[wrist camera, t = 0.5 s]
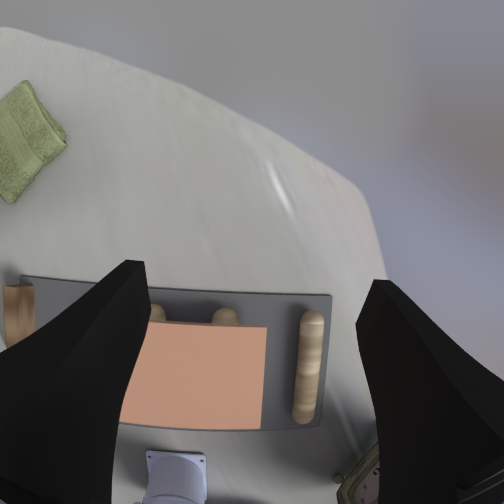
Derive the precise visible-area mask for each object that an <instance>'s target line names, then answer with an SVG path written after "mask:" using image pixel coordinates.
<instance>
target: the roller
mask: <svg viewBox="0 0 504 504" xmlns="http://www.w3.org/2000/svg"><path fill="white" fill-rule="evenodd" d="M323 331H324V318H323V316H322V315H321V314H320V313H319V312H317V311H314V310H311V311H307V312H306V313H304V314H303V315H302V317H301V320H300V332H299V345H298V357H297V369H296V379H295V390H294V400H293V409H292V417H293V419H294V421H295V422H297V423H299V424H307V423H309V422H310V421H311V420H312V419H313V417H314V413H315V405H316V398H317V390H318V381H319V372H320V363H321V353H322V342H323Z"/></svg>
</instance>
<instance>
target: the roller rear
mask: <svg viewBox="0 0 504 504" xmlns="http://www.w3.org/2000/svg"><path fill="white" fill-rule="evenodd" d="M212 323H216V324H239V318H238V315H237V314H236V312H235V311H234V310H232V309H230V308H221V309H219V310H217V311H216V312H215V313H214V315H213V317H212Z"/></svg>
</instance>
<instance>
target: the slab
mask: <svg viewBox="0 0 504 504" xmlns="http://www.w3.org/2000/svg"><path fill="white" fill-rule="evenodd" d="M266 335H267V327H266V326H265V325H246V324H216V323H195V322H178V321H163V320H150V319H149V324H148V328H147V332H146V336H145V339H144V342H143V345H142V348H141V350H140V353H139V356H138V359H137V362H136V364H135V367H134V370H133V373H132V376H131V379H130V382H129V384H128V387H127V390H126V393H125V397H124V400H123V404H122V409H121V414H120V419H119V421H120V422H126V423H134V424H142V425H151V426H161V427H174V428H190V429H260V425H261V411H262V397H263V382H264V367H265V351H266Z"/></svg>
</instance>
